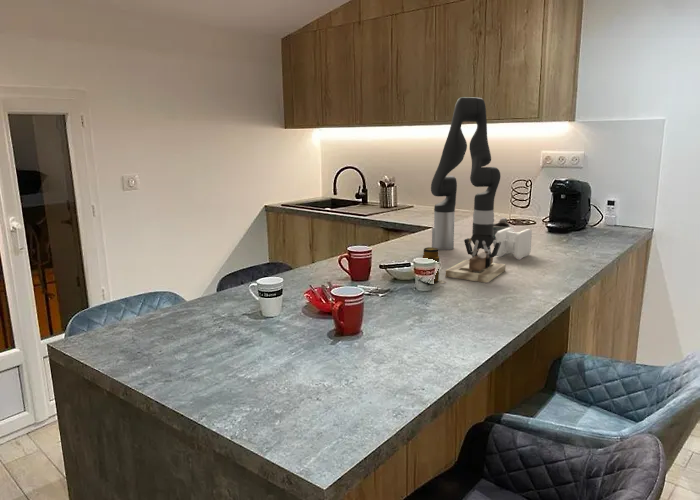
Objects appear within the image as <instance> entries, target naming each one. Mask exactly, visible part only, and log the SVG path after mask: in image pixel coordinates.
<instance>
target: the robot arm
mask: <svg viewBox="0 0 700 500" xmlns="http://www.w3.org/2000/svg"><path fill="white" fill-rule="evenodd" d="M486 108H487V107H486V103H485V100H484V99H483V98H482V97H473V96H472V97H471V96H462V97H459V98H458V99H457V101H456V102H455V105H454V108H453V114H452V118H451V121H450V122H451V124H450V128H449V132H448V134H447V137H446V140H445V143H444V145H443V149H442V153H441V157H440V160H439V163H438V166H437V168H436V171H435V172H434V175H433V178H432V180H431V185H430V191H431V194H432V195H433V196H435V197H445V198H444V199H443V200H442V201H440V202H438V203H436V204H435V205H434V207H433V208H434V209H433V211H434V212H433V213H434V214H433V227H432V228H431V247H433V248H437V249H438V251H439V250H440V251H444V250H445V251H447V250H449V251H450V250H453V249H454V246H455V245H454V244H455V243H454V242H455V219H456V218H455V212H456V203H457V201H456V200H457V189H458V185H457V184H458V180H457V178H456V177H455V176H454V175H448V174H450V173H451V172H452V171H453V170H454V169H456V168H458V166H459V165H460V164H462V162H463V160H464V157H465V155H466V153H467V149H468V143H467V140H466V138H465V135H464V133H463V130H462V124H463V123H464V122H467V123H468V122H469V123H476V130H475V131H474V133H473V135H472V137H471V139H470V141H469V153H470V158H471V168H470V169H471V171H470V176H469V180H470V183H471V184H472V185H473V187H477V188H482V187H483V188H486V189H485V191H483V192H479V193H477V194H475V195H474V200H473V201H474V203H473V204H474V205H473V215H472V232H471V233H472V235H471V237H469V238H468V237H467V238H464V239H463V241H464V245H465V249H466V252H467V255H470V256H471V258H472V257H474V256H476V255H478V254H479V251H480V249H482V250H483V252H485V253H486V265H485V268H488V267H489V266H490V265H491V258H492V257H493V258H494V257H495V258H496V257H497V256H496V255H497V252H498V250H499V247H500V245H501V242H497V241H496V239H495V238H493V228H494V224H495V223H494V222H495V211H494V210H495V207H494V206H495V197H496V193H497V190H498V188H499V184H500V181H501V172H500V170H499V168H497V167H495V166H489V164H490V163H491V162H492V155H491V150H490V146H489V140H488V124H487V121H488V120H487V109H486ZM472 244H473V245H474V247H473V246H472ZM492 244H493V250H492V248H491V245H492ZM491 253H492V254H491Z"/></svg>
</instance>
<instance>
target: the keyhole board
mask: <svg viewBox="0 0 700 500" xmlns="http://www.w3.org/2000/svg"><path fill="white" fill-rule="evenodd" d="M469 260H470V259H464V260H462V261H461V262H459V263H457V264H454V265H453V266H451V267H449V268H447V269H445V278H451V279H458V280H465V281H471V282H479V283H484V284H488V283H490V282H491V281H493V280H494V279H495V278H497V277H498V276H500V275H501V274H502V273H504V272H506V267H507V266H506V265H507V264H505V263H497V262H496V263H495V262H493V263H492V264H491V265H490V266H489V267H488V268H484V269H482V270H481V271H479V273H474V272H473V270H469Z"/></svg>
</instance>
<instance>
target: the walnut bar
mask: <svg viewBox="0 0 700 500" xmlns="http://www.w3.org/2000/svg"><path fill="white" fill-rule="evenodd" d="M491 254H492V252H491ZM468 260H469V270H473V272H474V273H479V271H481V270H482V269H484V268H485V265H486V253H485V251H481V252H480V253H478V254H477V255H476V256H474V257H472V256H471V258H469V259H468ZM493 261H494V257H492V258H491V264H492V263H494V262H493Z"/></svg>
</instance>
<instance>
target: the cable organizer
mask: <svg viewBox="0 0 700 500" xmlns="http://www.w3.org/2000/svg"><path fill="white" fill-rule="evenodd" d="M532 235H533V230H532V228H531V229H530V228H526V229H523V230H522V231H518V232H516V231H515V229H514V227H510V228H509V227H508V228H505V229H503V230H500V231H498V232H497V233H496V234H495V237H496V239H495V241H497V242H501V245H500V247H499V250H498V252H497V255H496V256H495V257H498V258H501V257H503V256H505V255H508V254H512V256H514V258H515V259H517V260H519V261H520V260H522V259H523V258H524V257H525V258H526V257H528V256H529V255H530V254H531V251H532V237H533V236H532Z"/></svg>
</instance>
